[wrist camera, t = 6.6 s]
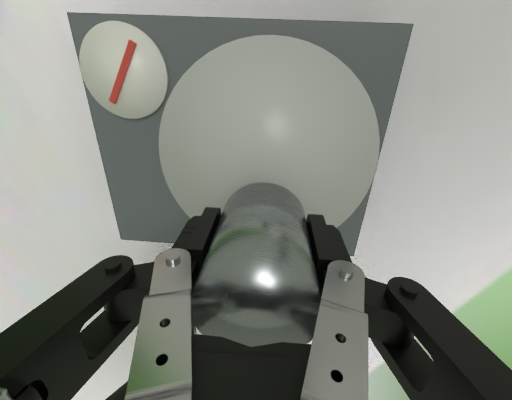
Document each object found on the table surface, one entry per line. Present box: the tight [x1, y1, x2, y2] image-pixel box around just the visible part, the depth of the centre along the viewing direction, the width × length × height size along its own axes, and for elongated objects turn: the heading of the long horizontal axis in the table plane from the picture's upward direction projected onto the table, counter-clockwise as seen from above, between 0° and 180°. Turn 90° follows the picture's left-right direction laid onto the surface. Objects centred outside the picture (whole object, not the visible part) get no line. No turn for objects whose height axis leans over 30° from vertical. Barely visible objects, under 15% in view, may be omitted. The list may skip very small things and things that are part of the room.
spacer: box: [192, 182, 321, 347], centre depth 11 cm, size 4×4×6 cm
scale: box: [67, 12, 413, 256], centre depth 16 cm, size 16×13×4 cm
